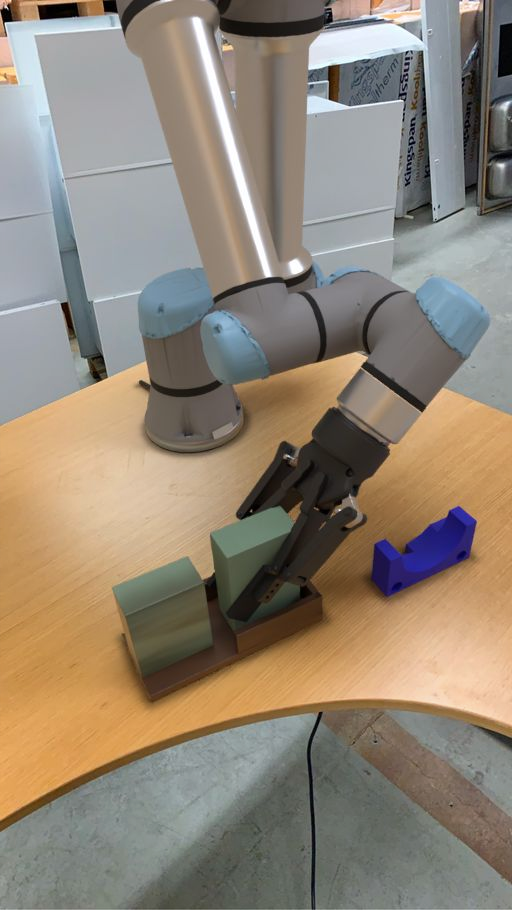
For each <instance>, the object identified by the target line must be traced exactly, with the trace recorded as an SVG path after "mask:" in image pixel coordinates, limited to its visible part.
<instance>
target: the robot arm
mask: <svg viewBox="0 0 512 910" xmlns="http://www.w3.org/2000/svg"><path fill="white" fill-rule="evenodd" d="M337 1H338V0H115V3H116V9H117V14H118V16H117V17H118V19H119V23H120V27H121V30H122V32H123V34H122V35H123V37H124V41H125V44H126V47H127V48H128V51H129V52H130V53H131V54H132V55H133V56H135V57H137V58H139V59H141V62H142V66H143V69H144V72H145V76H146V79H147V83H148V86H149V89H150V92H151V96H152V99H153V102H154V106H155V109H156V113H157V116H158V119H159V123H160V127H161V130H162V133H163V136H164V140H165V143H166V147H167V150H168V153H169V155H170V156H169V157H170V161H171V163H172V166H173V170H174V174H175V177H176V180H177V184H178V187H179V190H180V194H181V197H182V201H183V203H184V207H185V211H186V214H187V217H188V220H189V223H190V227H191V230H192V231H191V232H192V234H193V237H194V240H195V244H196V248H197V250H198V255H199V257H200V260H201V264H202V267H194V268H191V267H185V268H180V269H175V270H172V271H169V272H166V273H163V274H161V275H159V276H157V277H156V278H154V279H153V280H151V281H150V282H149V283H147V285H146V286H145V287H144V288H143V289H142V290H141V292H140V293H139V296H138V299H137V313H138V314H137V315H138V329H139V333H141V339H142V345H143V351H144V356H145V361H146V367H147V372H148V378H149V383H148V382H146V381H144V380H142V379H140V380H139V381H138V384H139V385H140V386H142V387H144V388H146V389H148V390H149V393H148V398H147V406H146V411H145V413H144V425H145V430H146V434H147V436H148V437H149V439H150V440H151V441H152V442H153V443H154V444H156V445H157V446H158V447H161V448H163V449H165V450H168V451H173V452H178V453H197V452H204V451H208V450H212V449H216V448H218V447H221V446H223V445H225V444H226V443H228V442H230V441H232V440H233V439H234V438H235V437H236V436H237V435H238V434H239V433H240V431H241V430H242V428H243V427H244V420H245V419H244V418H245V417H244V407H243V404H242V402H241V400H240V398H239V396H238V394H237V392H236V390H235V388H234V386H235V385H240V384H244V383H249V382H253V381H257V380H262V381H264V380H267V379H269V377H272V376H276V375H278V374H282V373H285V372H289V371H292V370H295V369H298V368H302V367H306V366H308V365H312V364H313V365H314V364H318V363H322V362H326V361H329V360H333V359H337V358H340V357H344V356H347V355H350V354H351V355H352V354H354V353H357V352H363V353H365V354H366V355H368V357H367V358H366V360H364V361H363V362H362V364H361V365H360V367H359V369H358V370H357V371H356V373H355V374H353V376H352V377H351V379H350V380H349V382H347V383H346V385H345V386H344V388H343V389H342V390H341V391H340V393H339V394H338V396H336V402H337V404H338V405H337V407H336V406H332V407H329V408H328V409H327V410H326V411H325V413H324V414H323V415H322V416H321V418H320V419H319V421H318V422H317V423H316V425H314V427H313V429H311V437H312V438H311V440H310V441H309V442H307V443H304V444H303V445H302V446H301V447H300V446H297V445H294V444H292V443H290V442H289V441H286V440H283V441H281V442H280V443H279V445H278V448H277V449H276V453H275V455H274V458H273V460H272V461H271V462H270V464H269V465H268V467H267V468H266V469H265V471H264V472H263V474H262V475H261V477H260V478H259V479H258V481H256V484H255V485H254V486H253V488H252V489H251V491H250V492H249V493H248V495H247V496H246V497H245V499H244V500H243V501H242V503H241V504H240V506H239V507H238V508H237V511H236V512H235V518H236V519H237V520H239V521H240V520H242V519H245V518H247V517H250V516H252V515H255V514H257V513H260V512H262V511H265V510H267V509H270V508H274V507H277V506H281V507H282V509H283V510H284V511H285V512H286V513H287V514H288V515H289V513H290V512H291V511H292V510H293V509H295V507H296V506H298V505H300V506H299V511H300V512H299V514H298V515H297V517H296V519H295V521H294V525H293V527H292V528H291V532H290V533H289V534H288V536H287V537H286V539H285V541H284V543H283V545H282V546H281V548H280V550H279V552H278V554H277V555H276V557H275V559H274V561H273V563H272V564H271V566H270V565H267V564H266V565H265V566H264V565H263V566H262V567H261V568H260V570H259V571H258V572H257V574H256V575H255V576H254V577H253V579H252V580H251V581H250V582H249V584H248V585H247V586H246V588H245V589H244V590H243V591H242V593H241V594H240V595H239V596H238V598H237V599H236V600H235V602H234V603H233V604H232V605H231V607H230V608H229V609H228V610H227V612H226V615H227V616H228V618H230V619H234V620H239V621H243V622H247V621H248V620H249V619H250V617H251V616H252V615H253V614H254V612H255V611H256V610H257V609H258V607H259V606H260V605H261V604H262V602H263V603H268V602H269V601H271V599H272V598H273V597H274V596H275V594H276V593H277V592H278V591H279V589H280V588H281V587H282V586H283V584H284V583H285V582H289V583H292V584H295V585H298V586H302V587H303V586H305V585H306V584H307V583H308V582H309V580H310V581H311V579H312V578H313V577H314V576H315V575H316V573H318V571H319V570H320V569H321V568H322V566H323V565H324V564H325V563H326V562H327V561H328V559H329V558H331V556H332V555H333V554H334V553H335V551H336V550H337V549H338V548H339V547H340V546H341V544H342V543H343V542H344V541H345V540H346V539H347V537H348V536H349V535H350V534H351V533H353V532H355V531H356V530H358V529H360V528H361V527H363V526H364V525H366V524H367V522H368V516H367V514H366V513H364V512H362V511H361V509H360V507H359V505H358V502H357V497H358V495H359V493H360V488H361V486H362V484H363V483H364V482H365V481H366V480H368V479H370V478H372V477H373V476H374V475H375V474H376V473H377V472H378V470H379V469H380V468H381V466H382V465H383V464H384V463H385V461H386V460H387V459H388V457H389V456H390V455H391V448H390V447H389V446H390V445H398V444H400V442H401V441H402V439H403V438H404V437H405V435H406V434H407V433H408V432H409V431H410V430H411V428H412V427H413V426H414V425H415V423H416V422H417V420H419V418H420V416H421V415H422V414H423V413H424V412H425V411H426V409H427V407H428V406H429V405H430V404H431V403H432V401H433V400H434V398H436V396H438V394H439V392H441V390H442V389H443V388H444V387H445V385H446V384H447V383H448V382H449V381H450V379H451V378H452V377H453V376H454V375H455V373H456V372H457V371H458V370H459V369H460V368H461V366H462V365H464V363H465V362H466V361H468V359H470V357H471V354H472V353H473V351H474V349H475V348H476V347H477V345H478V344H479V342H480V341H481V339H482V338H483V337H484V335H485V334H486V332H487V331H488V329H489V327H490V324H491V316H490V314H489V312H488V310H487V308H486V307H484V305H483V304H482V303H481V302H480V301H479V300H478V299H477V298H476V297H474V296H473V295H472V294H470V293H469V292H468V291H466V290H465V289H463V288H462V287H461V286H459V285H458V284H456V283H455V282H452V281H450V280H449V279H446V278H445V277H441V276H431V277H429V278H428V279H426V280H425V282H424V283H423V284H422V285H420V287H419V288H417V289H416V290H415V292H412V291H410V290H408V289H407V288H404V287H402V286H400V285H399V284H397V283H395V282H393V281H391V280H389V279H387V278H386V277H385V276H383V275H382V274H379V273H377V272H376V271H371V270H369V269H364V268H362V267H359V266H353V265H350V266H344V267H340V268H338V269H336V270H334V272H333V273H331V274H330V275H329V276H328V277H326V278H325V277H324V276H325V275H324V274H323V271H322V270H321V268H320V266H319V265H318V263H317V262H316V261H314V260H313V256H312V254H311V252H310V251H309V250H308V249H307V248H306V247H305V246H304V245H303V231H304V230H303V227H304V205H305V204H304V203H305V202H304V201H305V173H306V148H307V146H306V145H307V121H308V120H307V119H308V118H307V117H308V90H309V89H308V88H309V64H310V63H309V62H310V48H311V45H312V44H313V43H314V42H315V40H317V38H318V37H319V36H321V34H322V33H323V31H324V25H325V24H324V23H325V8H328V7H329V8H330V7H331V6H332V5H333V4H335V3H336V2H337ZM217 31H219V33H220V35H222V37H223V38H224V39H225V40H226V41H227V42H228V44H229V45H230V46H231V47H232V49H233V74H234V75H233V77H234V80H233V81H234V99H233V95H232V92H231V87H230V84H229V81H228V78H227V74H226V70H225V67H224V63H223V60H222V56H221V53H220V50H219V46H218V43H217V38H216V36H215V34H216V33H217ZM299 503H300V504H299ZM333 513H334V514H333ZM285 565H286V566H285ZM209 577H210V578H209V579H208V581H207V582H206V583H207V584H208V586H209V587H211V588H215V589H217V584H216V577H215V571H213V573H212V574H211V575H210V576H209Z"/></svg>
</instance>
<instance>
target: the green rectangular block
mask: <svg viewBox="0 0 512 910" xmlns="http://www.w3.org/2000/svg"><path fill="white" fill-rule="evenodd" d="M294 523H295V521H294V520H293V519H292V518H291V517H290V515H289V513H288V514H287V513H286V512H285V511H284V510H283V509H282V507H281V506H277V507H274V508H270V509H267V510H265V511H262V512H260V513H257V514H255V515H252V516H250V517H247V518H245V519H242V520H240V519H239V520H238V521H235V522H233V523H230V524H228V525H225V526H223V527H220V528H218V529H215V530H213V531H210V532H209V539H210V547H211V554H212V561H213V568H214V572H215V577H216V584H217V592H218V599H219V606H220V611H221V612H222V614H223V615H224V617H225V619H226V620H227V622H228V624H229V625H230V627H231V628H232V630H233V631H235V630H237V629H239V628H241V627H243V626H245V625H248V624H250V623H252V622H254V621H256V620H258V619H260V618H263V617H265V616H267V615H269V614H271V613H273V612H275V611H278V610H280V609H282V608H284V607H286V606H288V605H291V604H293V603H295V602H297V601H299V600H300V586H298V585H295V584H292V583H289V582H285V583H284V584H283V586H282V587H281V588H280V589H279V591H278V592H277V593H276V594H275V596H274V597H273V598H272V599H271V601H269V602H268V603H263V602H262V604H261V605H260V606H259V607H258V609H257V610H256V611H255V612H254V614H253V615H252V616H251V617H250V619H249V620H248V621H247V622H243V621H239V620H234V619H230V618H228V616H227V615H226V612H227V610H228V609H229V608H230V607H231V605H232V604H233V603H234V602H235V600H236V599H237V598H238V596H239V595H240V594H241V593H242V591H243V590H244V589H245V588H246V586H247V585H248V584H249V582H250V581H251V580H252V579H253V577H254V576H255V575H256V574H257V572H258V571H259V570H260V568H261V567H262V566H263V565H264V566H265V565H266V564H267V565H270V566H271V564H272V563H273V561H274V559H275V557H276V555H277V554H278V552H279V550H280V548H281V546H282V545H283V543H284V541H285V539H286V537H287V536H288V534H289V533H290V532H291V528H292V527H293V525H294ZM285 566H286V565H285Z"/></svg>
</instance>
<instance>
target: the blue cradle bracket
mask: <svg viewBox="0 0 512 910" xmlns="http://www.w3.org/2000/svg"><path fill="white" fill-rule="evenodd" d="M477 523H478V520H476V519H475V517H473V516H472V515H470V513H468V512H467V511H466V510H465V509H464V508H462V507H461V506H460V505H457V506H455V507H453V508H451V509H448V512H447V515H446V517H443V518H441V519H439V520H436V521H434V522H432V523H430V524H429V525H428V526H427V527H426V528H425V529H424V530H423V531H422V532H421V533H420V534H418V536H416V537H415V538H413V539H411V540H410V541H408V542H406V543H405V548H404V553H405V554H401V553H400V552H399V551H398V550H397V549H396V548H395V547H394V546H393V544H391V542H389V541H388V539H386V538H384V539H381V540H379V541H377V542H375V543H374V544H373V553H372V565H371V576H370V581H372V583H373V584H374V585H375V586H376V587H377V588H378V590H379V591H380V592H381V593H382V594H383V595H384V596H385V598H389V597H391V596H393V595H394V594H398V593H399V592H401V591H403V590H405V589H407V588H410V587H411V586H414V585H415V584H418V583H419V582H423V581H425V580H427V579H428V578H430V577H432V576H434V575H436V574H438V573H441V572H442V571H445V570H447V569H448V568H451V567H453V566H455V565H458V564H459V563H461V562H463V561H465V560H467V559H469V558H470V555H471V551H472V547H473V541H474V537H475V532H476V528H477Z"/></svg>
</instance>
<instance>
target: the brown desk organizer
mask: <svg viewBox="0 0 512 910" xmlns="http://www.w3.org/2000/svg"><path fill="white" fill-rule="evenodd" d="M210 577H211V576H209V577H206V578H204V579H203V577H202V576H201V574H200V573H199V571H198V570H197V568H196V567H195V565H194V563H193V562H192V560H191V558H190V557H189V556H188V555H187V556H184V557H182V558H179V559H177V560H174V561H172V562H170V563H169V562H168V563H167V564H164V565H161V566H159V567H157V568H155V569H152V570H150V571H147V572H145V573H142V574H140V575H138V576H135V577H132V578H131V579H128V580H126V581H123V582H121V583H120V582H119V583H118V584H115V585H113V586H111V590H112V594H113V598H114V601H115V604H116V609H117V612H118V616H119V618H120V623H121V626H122V630H123V633H121V636H122V640H123V642H124V644H125V647H126V649H127V651H128V654H129V656H130V658H131V660H132V663H133V665H134V668H135V670H136V672H137V674H138V677H139V679H140V680H141V684H142V685H143V687H144V690H145V692H146V695H147V697H148V699H149V702H151V703H153V702H155V701H157V700H159V699H161V698H163V697H165V696H168V695H170V694H171V693H174V692H175V691H178V690H180V689H182V688H185V687H186V686H188V685H190V684H192V683H194V682H196V681H199V680H200V679H202V678H205V677H206V676H209V675H211V674H212V673H215V672H217V671H219V670H222V669H224V668H225V667H228V666H229V665H232V664H234V663H236V662H238V661H240V660H242V659H244V658H247V657H248V656H250V655H252V654H255V653H257V652H258V651H260V650H262V649H265V648H267V647H269V646H271V645H272V644H275V643H277V642H279V641H281V640H283V639H285V638H288V637H290V636H291V635H293V634H296V633H298V632H299V631H302V630H304V629H307V628H308V627H311V626H312V625H314V624H316V623H319V622H321V621H322V620H323V605H324V603H323V598H324V597H323V594H322V593H321V592H320V591H319V590H318V588H317V587H316V586H315V584H314V583H313V582H312V581H311V579H310V580H309V582H308V583H307V584H306V585H305V586H303V587H302V586H300V600H299V601H297V602H295V603H293V604H291V605H288V606H286V607H284V608H282V609H280V610H278V611H275V612H273V613H271V614H269V615H267V616H265V617H263V618H260V619H258V620H256V621H254V622H252V623H250V624H248V625H245V626H243V627H241V628H239V629H237V630H235V631H233V630H232V628H231V627H230V625H229V624H228V622H227V620H226V619H225V617H224V615H223V614H222V612H221V611H220V606H219V599H218V592H217V589H215V588H211V587H209V586H208V584H207V583H206V582H207V581H208V579H209V578H210Z"/></svg>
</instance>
